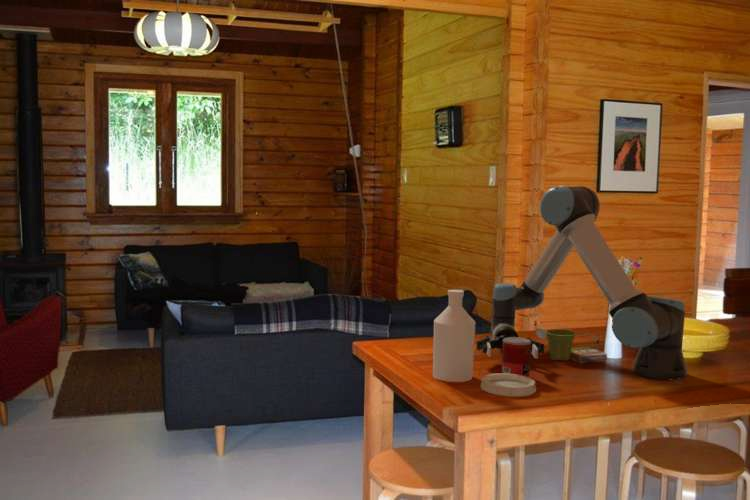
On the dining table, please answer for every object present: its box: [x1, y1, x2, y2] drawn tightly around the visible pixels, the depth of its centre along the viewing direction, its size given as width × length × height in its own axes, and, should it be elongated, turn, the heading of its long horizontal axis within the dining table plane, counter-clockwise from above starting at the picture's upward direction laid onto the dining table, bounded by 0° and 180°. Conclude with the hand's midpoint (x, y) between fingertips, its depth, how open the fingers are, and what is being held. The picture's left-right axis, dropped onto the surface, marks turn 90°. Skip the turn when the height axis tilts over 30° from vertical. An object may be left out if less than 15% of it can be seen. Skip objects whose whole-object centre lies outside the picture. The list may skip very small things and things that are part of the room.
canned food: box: [501, 337, 531, 378], centre depth 225 cm, size 8×8×11 cm
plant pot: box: [545, 328, 577, 362], centre depth 248 cm, size 9×9×9 cm
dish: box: [480, 372, 537, 398], centre depth 213 cm, size 15×15×2 cm
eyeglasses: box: [534, 325, 600, 342], centre depth 278 cm, size 15×18×4 cm
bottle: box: [432, 289, 476, 383], centre depth 222 cm, size 12×12×25 cm
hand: (513, 353), depth 227 cm, fingers open, 13 cm apart
